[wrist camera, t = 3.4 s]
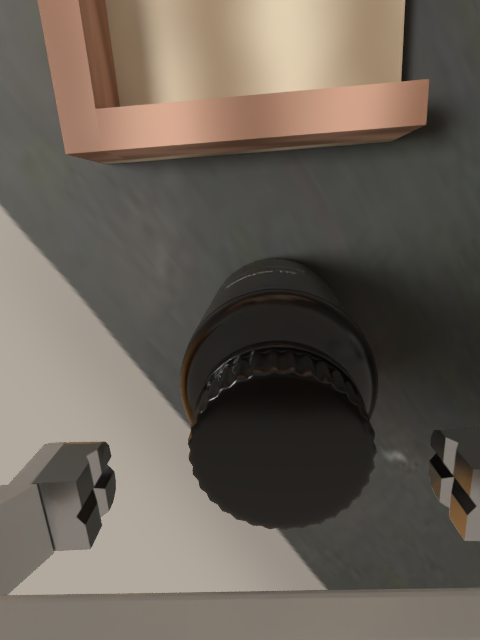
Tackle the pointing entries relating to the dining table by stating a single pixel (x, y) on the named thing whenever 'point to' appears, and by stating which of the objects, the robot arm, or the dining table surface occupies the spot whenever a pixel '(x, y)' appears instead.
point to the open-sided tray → (227, 76)
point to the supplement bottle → (279, 398)
